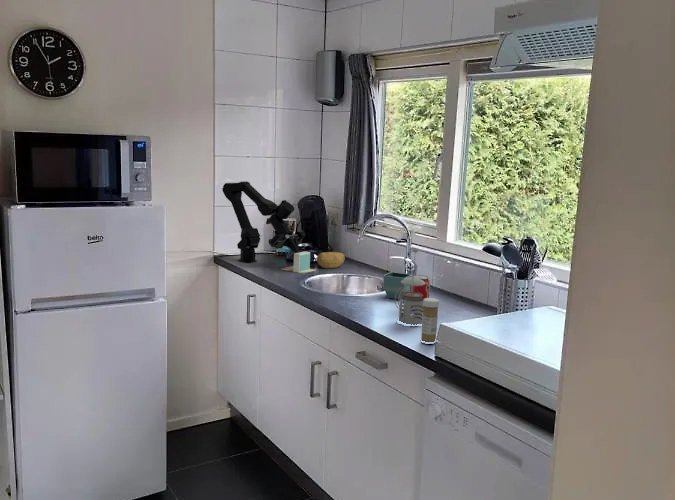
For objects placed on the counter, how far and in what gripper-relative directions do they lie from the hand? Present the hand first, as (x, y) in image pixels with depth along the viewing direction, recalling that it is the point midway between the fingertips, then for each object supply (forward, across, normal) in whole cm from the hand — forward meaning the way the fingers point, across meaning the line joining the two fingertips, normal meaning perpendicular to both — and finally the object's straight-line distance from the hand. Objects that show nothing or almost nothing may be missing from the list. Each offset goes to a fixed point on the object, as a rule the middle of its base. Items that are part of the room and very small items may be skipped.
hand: (298, 253), depth 277 cm
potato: (+10, -16, -2) cm, 19 cm away
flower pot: (+46, +8, +33) cm, 57 cm away
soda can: (+56, +17, +43) cm, 73 cm away
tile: (+7, 0, -4) cm, 8 cm away
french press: (+61, +34, +48) cm, 84 cm away
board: (+6, -1, -6) cm, 8 cm away
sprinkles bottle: (+71, +49, +58) cm, 104 cm away
